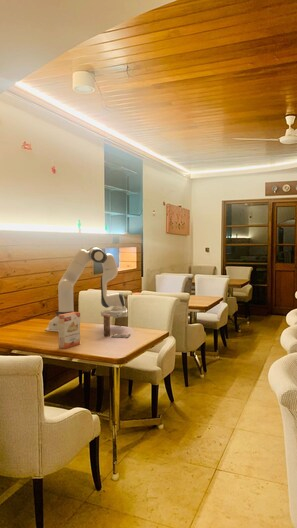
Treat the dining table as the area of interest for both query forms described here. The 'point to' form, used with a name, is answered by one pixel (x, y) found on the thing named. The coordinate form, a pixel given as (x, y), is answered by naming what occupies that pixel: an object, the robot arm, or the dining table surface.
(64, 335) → the cracker box
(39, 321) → the dining table surface
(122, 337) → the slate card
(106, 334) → the walnut tube
